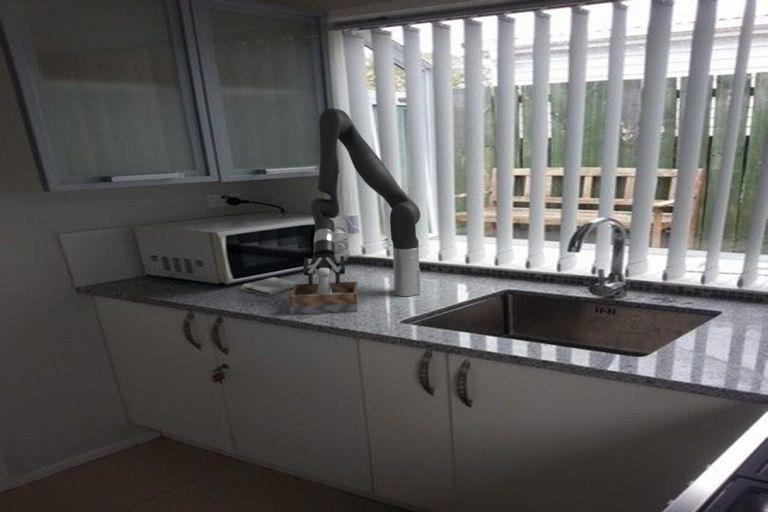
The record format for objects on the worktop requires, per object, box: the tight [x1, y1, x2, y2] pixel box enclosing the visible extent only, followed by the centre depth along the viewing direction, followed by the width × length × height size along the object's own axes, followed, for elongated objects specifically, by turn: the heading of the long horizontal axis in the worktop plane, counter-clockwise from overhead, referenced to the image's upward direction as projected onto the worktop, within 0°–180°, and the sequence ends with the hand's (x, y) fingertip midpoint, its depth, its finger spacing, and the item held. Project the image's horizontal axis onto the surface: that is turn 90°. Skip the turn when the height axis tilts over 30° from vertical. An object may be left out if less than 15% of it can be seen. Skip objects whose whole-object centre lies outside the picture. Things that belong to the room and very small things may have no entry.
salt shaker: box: [316, 268, 333, 295], centre depth 179 cm, size 6×6×13 cm
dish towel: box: [240, 276, 303, 297], centre depth 205 cm, size 19×18×3 cm
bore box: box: [288, 281, 359, 315], centre depth 179 cm, size 22×16×6 cm
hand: (324, 284), depth 177 cm, fingers open, 8 cm apart
